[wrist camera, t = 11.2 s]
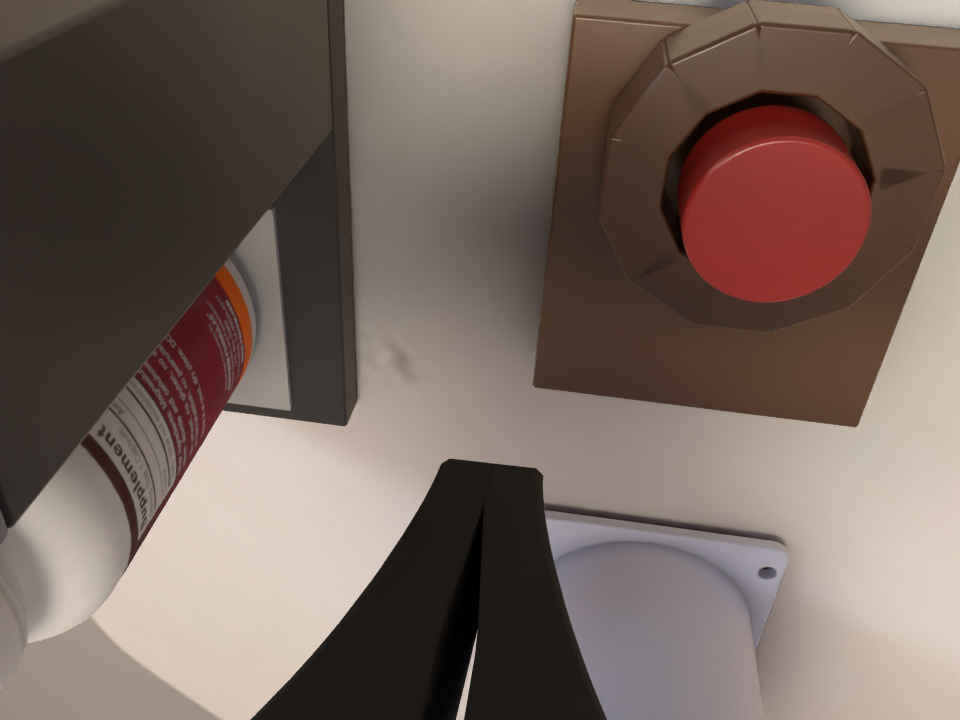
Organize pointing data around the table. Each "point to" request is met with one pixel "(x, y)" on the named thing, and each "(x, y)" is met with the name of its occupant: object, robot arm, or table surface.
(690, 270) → the control box
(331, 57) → the coffee maker
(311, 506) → the table surface
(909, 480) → the table surface
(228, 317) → the pill bottle
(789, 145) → the button
